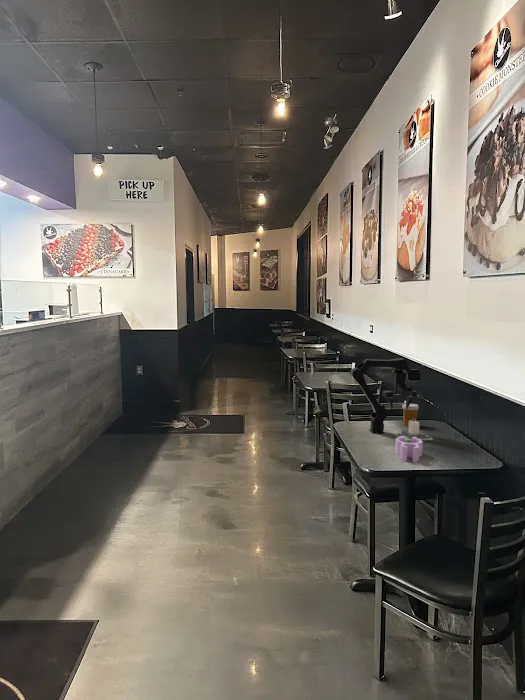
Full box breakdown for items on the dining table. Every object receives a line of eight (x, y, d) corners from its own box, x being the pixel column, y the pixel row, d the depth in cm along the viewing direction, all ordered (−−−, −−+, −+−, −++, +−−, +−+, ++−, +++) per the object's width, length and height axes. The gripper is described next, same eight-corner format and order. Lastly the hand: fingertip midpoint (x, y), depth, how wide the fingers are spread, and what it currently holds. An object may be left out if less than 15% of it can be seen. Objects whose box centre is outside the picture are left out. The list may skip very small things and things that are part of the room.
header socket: (410, 439, 283) (410, 435, 283) (401, 434, 293) (401, 430, 293) (425, 438, 285) (425, 434, 285) (416, 433, 295) (416, 429, 295)
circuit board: (404, 441, 282) (404, 438, 282) (394, 435, 293) (394, 432, 293) (432, 440, 285) (432, 437, 285) (421, 434, 297) (421, 431, 297)
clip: (424, 463, 247) (424, 448, 246) (396, 461, 249) (396, 446, 248) (420, 450, 266) (421, 437, 265) (394, 449, 269) (395, 435, 268)
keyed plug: (413, 437, 286) (414, 420, 284) (408, 435, 291) (408, 417, 290) (419, 437, 286) (420, 419, 285) (414, 434, 292) (415, 417, 291)
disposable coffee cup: (403, 422, 323) (404, 402, 322) (419, 424, 319) (420, 404, 318) (399, 425, 315) (400, 405, 313) (416, 427, 310) (417, 407, 309)
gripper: (391, 384, 287) (389, 412, 289) (423, 383, 291) (421, 411, 293) (382, 380, 298) (381, 408, 300) (413, 380, 302) (412, 407, 304)
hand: (399, 409), depth 299 cm, fingers open, 9 cm apart
